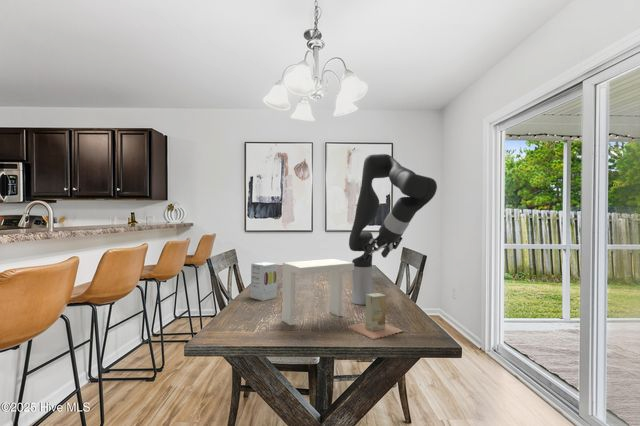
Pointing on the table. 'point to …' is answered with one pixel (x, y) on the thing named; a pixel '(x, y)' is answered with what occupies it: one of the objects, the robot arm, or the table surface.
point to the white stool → (313, 267)
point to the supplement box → (264, 281)
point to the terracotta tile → (374, 334)
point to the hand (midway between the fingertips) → (374, 257)
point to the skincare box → (375, 311)
